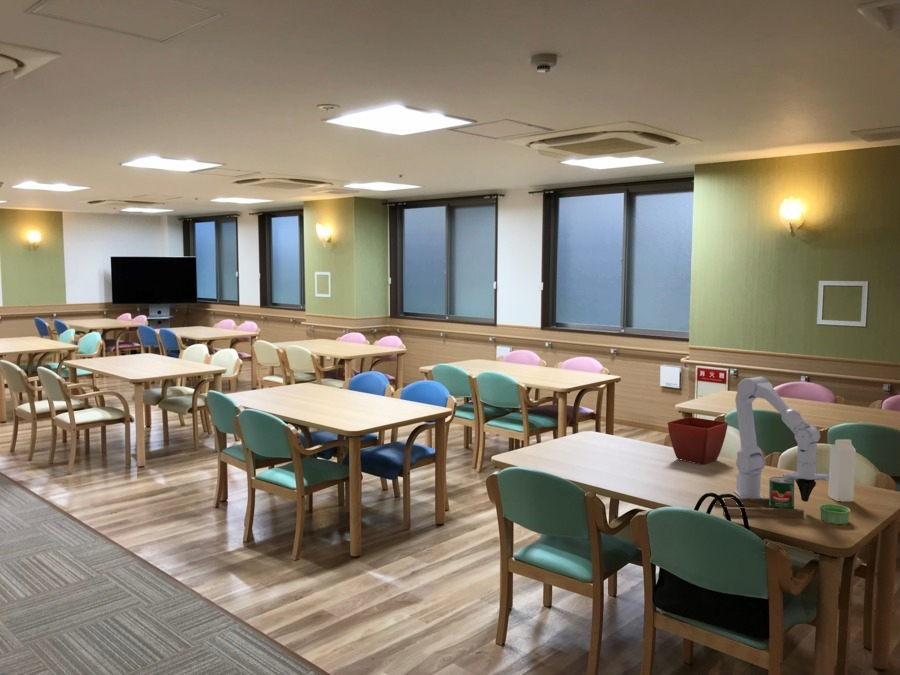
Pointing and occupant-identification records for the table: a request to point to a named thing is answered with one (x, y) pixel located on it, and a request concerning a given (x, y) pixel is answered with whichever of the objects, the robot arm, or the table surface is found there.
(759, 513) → the beam channel
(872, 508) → the table surface
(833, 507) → the ramekin
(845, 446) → the milk
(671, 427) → the plant pot
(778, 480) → the canned tomato
